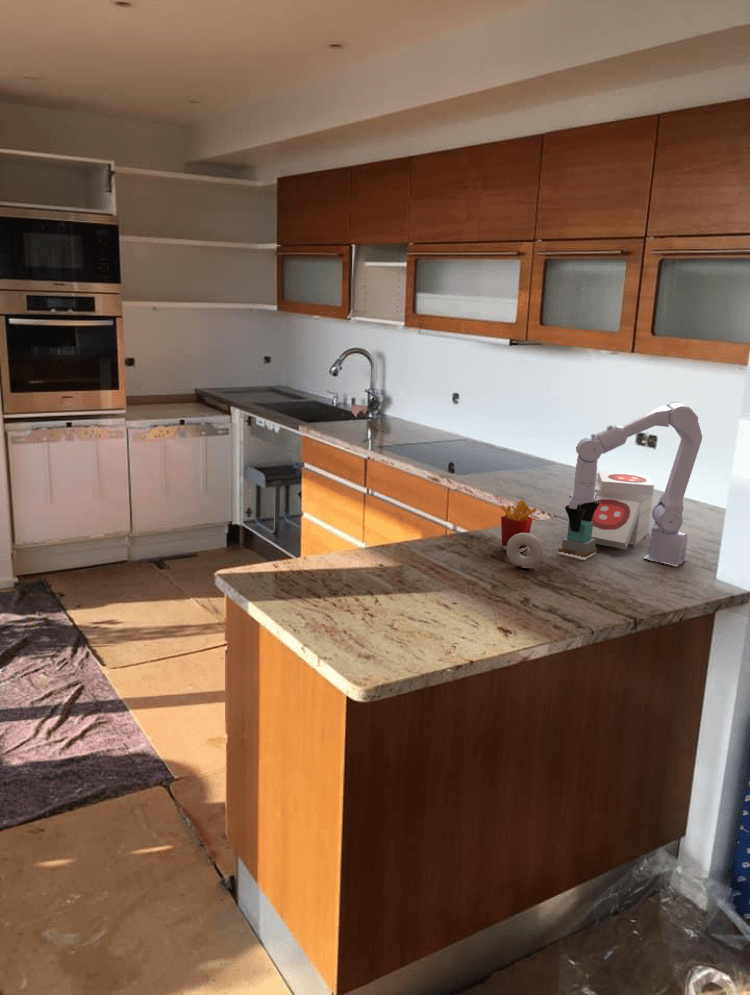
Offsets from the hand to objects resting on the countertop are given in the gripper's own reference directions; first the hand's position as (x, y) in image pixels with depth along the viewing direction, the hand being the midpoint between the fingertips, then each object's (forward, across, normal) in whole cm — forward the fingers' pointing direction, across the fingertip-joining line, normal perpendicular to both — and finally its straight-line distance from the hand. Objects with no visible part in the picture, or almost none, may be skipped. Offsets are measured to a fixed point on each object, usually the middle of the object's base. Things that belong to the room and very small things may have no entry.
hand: (580, 528), depth 236 cm
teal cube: (+3, 0, 0) cm, 3 cm away
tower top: (+6, 0, 0) cm, 6 cm away
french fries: (+8, +9, -14) cm, 18 cm away
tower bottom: (+8, 0, 0) cm, 8 cm away
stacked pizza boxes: (+8, -22, +2) cm, 24 cm away
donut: (+8, +22, -6) cm, 24 cm away
